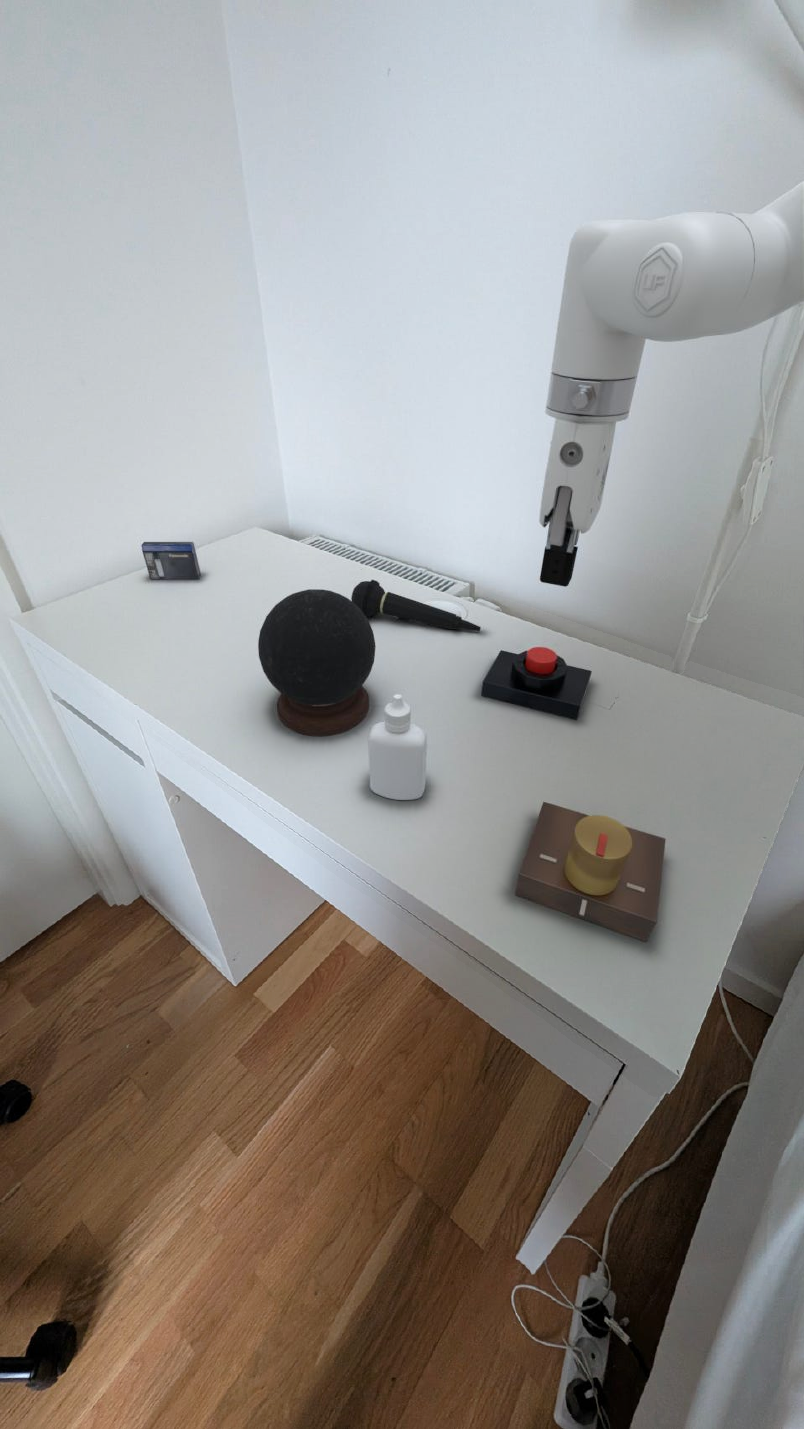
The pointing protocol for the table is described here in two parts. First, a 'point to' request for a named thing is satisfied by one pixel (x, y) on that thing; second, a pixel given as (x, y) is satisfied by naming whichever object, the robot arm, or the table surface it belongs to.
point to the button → (541, 660)
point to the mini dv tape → (171, 560)
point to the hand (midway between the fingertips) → (555, 581)
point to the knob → (597, 854)
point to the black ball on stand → (318, 661)
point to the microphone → (403, 607)
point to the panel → (617, 910)
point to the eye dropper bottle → (397, 754)
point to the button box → (537, 685)
